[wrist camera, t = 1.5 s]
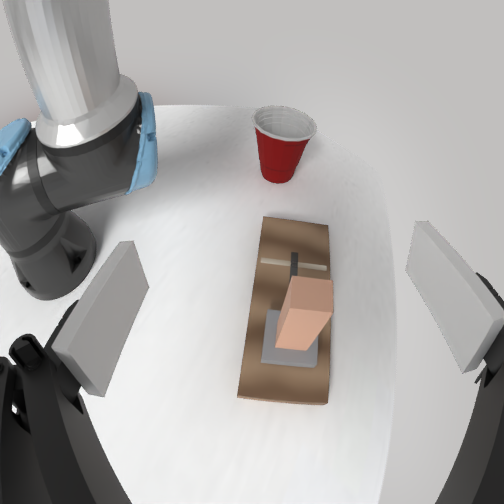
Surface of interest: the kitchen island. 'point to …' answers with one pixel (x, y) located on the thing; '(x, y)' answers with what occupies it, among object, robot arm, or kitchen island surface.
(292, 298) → the fader knob
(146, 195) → the kitchen island surface
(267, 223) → the fader board
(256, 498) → the kitchen island surface
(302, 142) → the plastic cup
